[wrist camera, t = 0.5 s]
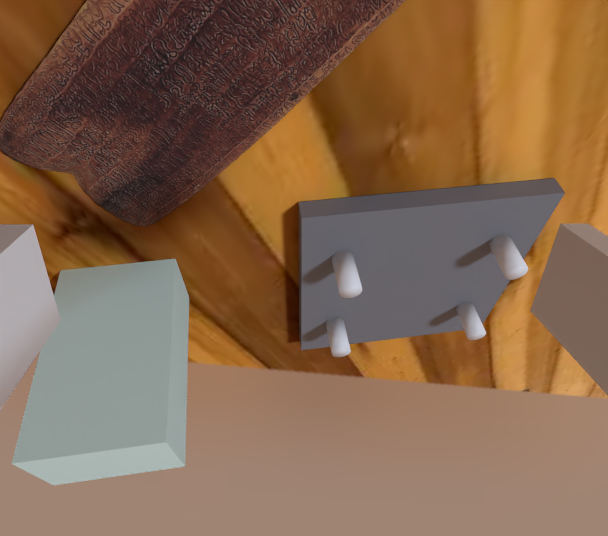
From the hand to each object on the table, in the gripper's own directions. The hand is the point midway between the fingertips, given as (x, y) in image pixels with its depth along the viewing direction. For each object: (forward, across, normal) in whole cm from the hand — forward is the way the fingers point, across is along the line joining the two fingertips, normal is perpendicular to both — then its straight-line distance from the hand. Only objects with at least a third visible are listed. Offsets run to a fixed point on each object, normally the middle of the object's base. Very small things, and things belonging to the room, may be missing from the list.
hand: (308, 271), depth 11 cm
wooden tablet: (+14, -3, +5) cm, 15 cm away
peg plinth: (+22, +11, -12) cm, 27 cm away
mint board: (+20, -11, -12) cm, 26 cm away
